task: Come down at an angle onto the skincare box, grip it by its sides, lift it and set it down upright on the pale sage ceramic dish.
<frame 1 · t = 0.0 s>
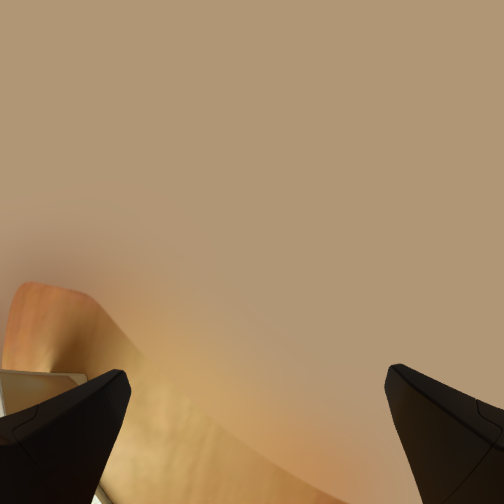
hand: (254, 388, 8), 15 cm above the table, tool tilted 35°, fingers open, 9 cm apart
skincare box: (71, 392, 21), on the table
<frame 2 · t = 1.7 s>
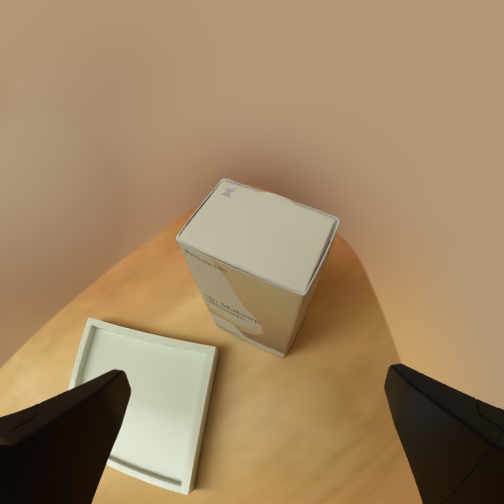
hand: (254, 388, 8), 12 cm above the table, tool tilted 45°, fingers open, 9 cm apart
sage dish: (135, 404, 18), on the table
skincare box: (262, 322, 22), on the table
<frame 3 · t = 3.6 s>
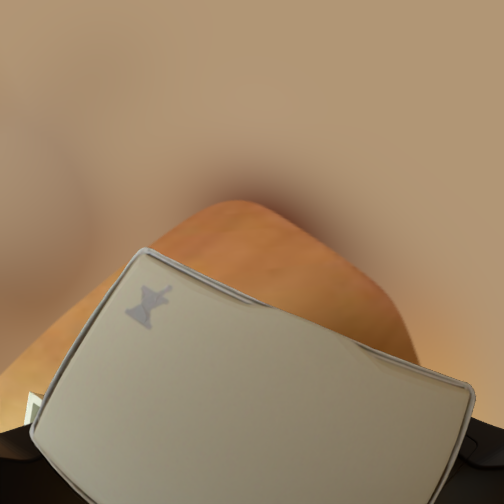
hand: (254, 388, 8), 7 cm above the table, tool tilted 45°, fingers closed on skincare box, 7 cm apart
sage dish: (96, 502, 9), on the table
skincare box: (260, 421, 13), on the table, touching gripper
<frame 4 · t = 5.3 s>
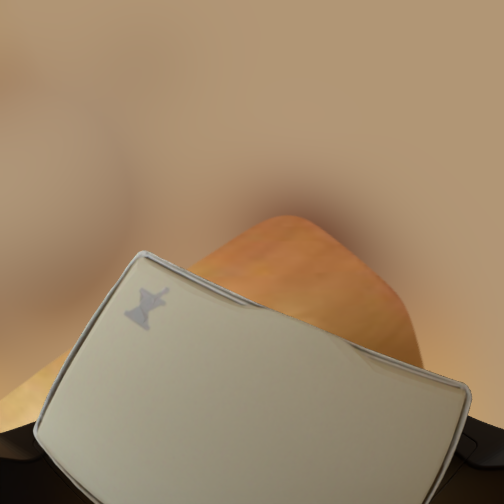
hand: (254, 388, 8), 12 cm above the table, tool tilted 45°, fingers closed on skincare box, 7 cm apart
skincare box: (264, 420, 13), point 5 cm above the table, touching gripper
when the fingers open (9 cm above the table, at t = 7.0 s): skincare box drops 1 cm, resting on sage dish.
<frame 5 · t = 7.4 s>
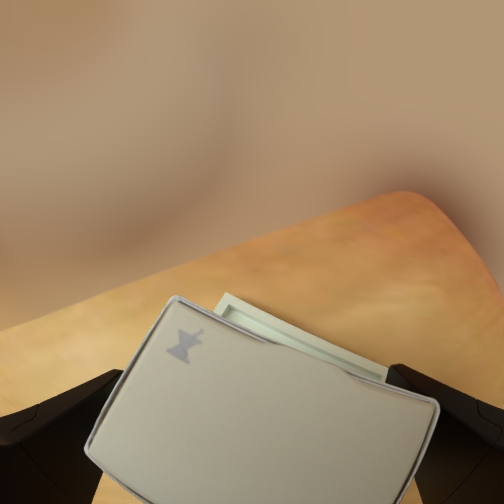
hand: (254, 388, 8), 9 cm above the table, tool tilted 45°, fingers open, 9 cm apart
sage dish: (262, 419, 15), on the table
skincare box: (265, 423, 14), point 1 cm above the table, touching sage dish
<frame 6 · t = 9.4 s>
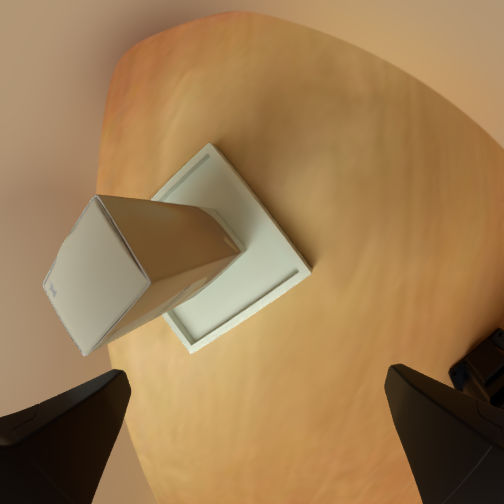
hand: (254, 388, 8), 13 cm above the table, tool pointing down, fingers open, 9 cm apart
sage dish: (205, 252, 22), on the table
skincare box: (205, 252, 21), point 1 cm above the table, touching sage dish
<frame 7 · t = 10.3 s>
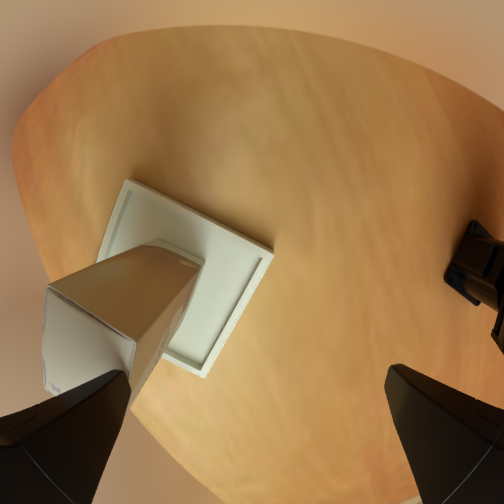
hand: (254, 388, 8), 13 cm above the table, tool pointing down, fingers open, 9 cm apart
sage dish: (169, 281, 21), on the table
skincare box: (169, 281, 21), point 1 cm above the table, touching gripper, sage dish
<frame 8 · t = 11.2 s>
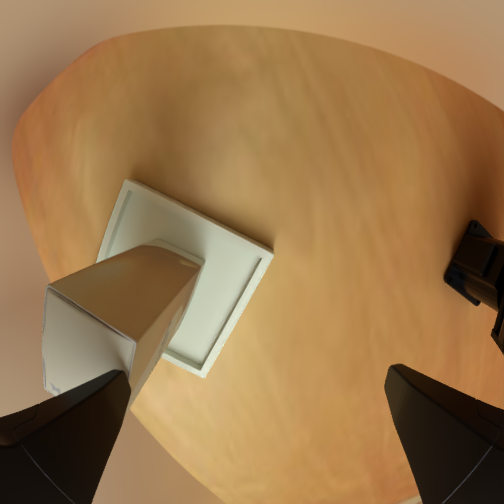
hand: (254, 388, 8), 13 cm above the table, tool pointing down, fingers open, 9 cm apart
sage dish: (169, 281, 21), on the table
skincare box: (169, 281, 21), point 1 cm above the table, touching gripper, sage dish
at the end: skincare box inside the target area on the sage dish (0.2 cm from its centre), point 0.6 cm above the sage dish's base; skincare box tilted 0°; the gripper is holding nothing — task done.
